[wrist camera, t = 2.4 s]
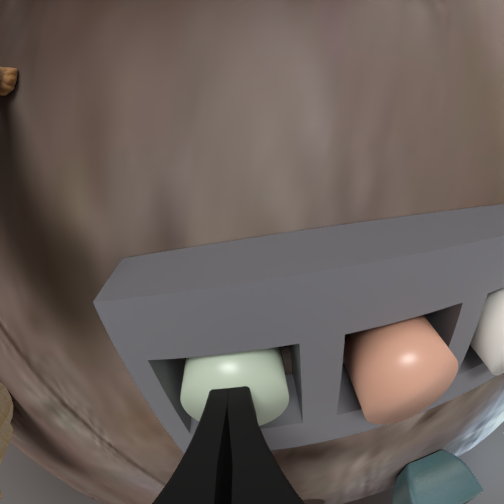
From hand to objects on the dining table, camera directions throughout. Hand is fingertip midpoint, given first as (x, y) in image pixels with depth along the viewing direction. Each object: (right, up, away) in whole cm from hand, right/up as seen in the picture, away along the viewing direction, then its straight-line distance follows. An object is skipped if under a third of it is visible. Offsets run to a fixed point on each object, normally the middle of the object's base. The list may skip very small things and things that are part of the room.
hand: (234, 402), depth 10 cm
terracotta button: (+6, +2, +1) cm, 7 cm away
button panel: (+6, +2, +3) cm, 7 cm away
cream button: (+13, +3, +1) cm, 13 cm away
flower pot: (+21, -20, +14) cm, 32 cm away
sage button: (0, +1, +3) cm, 3 cm away
